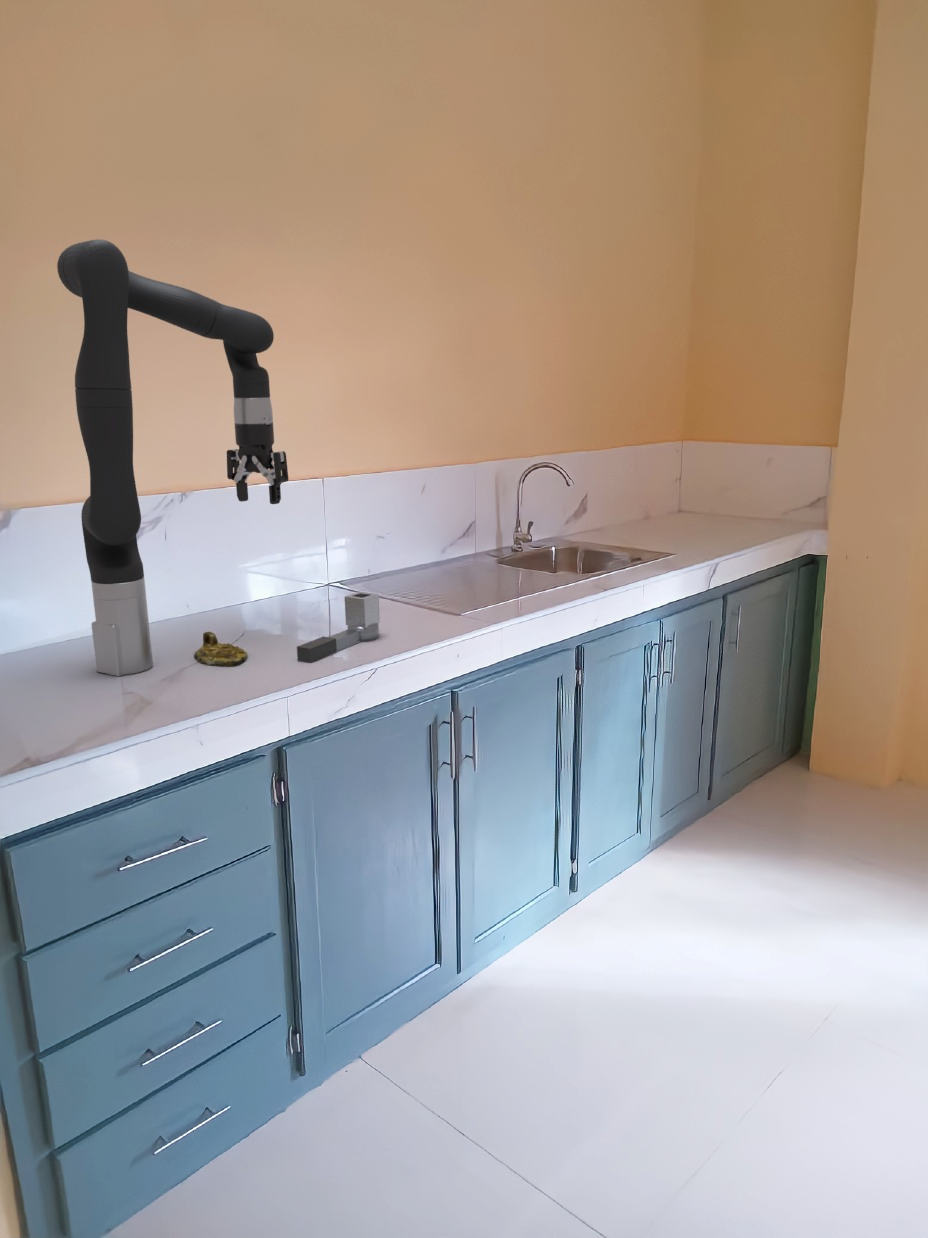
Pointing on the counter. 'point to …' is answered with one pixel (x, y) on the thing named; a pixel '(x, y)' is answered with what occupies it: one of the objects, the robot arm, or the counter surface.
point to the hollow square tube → (362, 609)
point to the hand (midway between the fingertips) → (259, 502)
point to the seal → (219, 652)
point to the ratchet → (336, 642)
